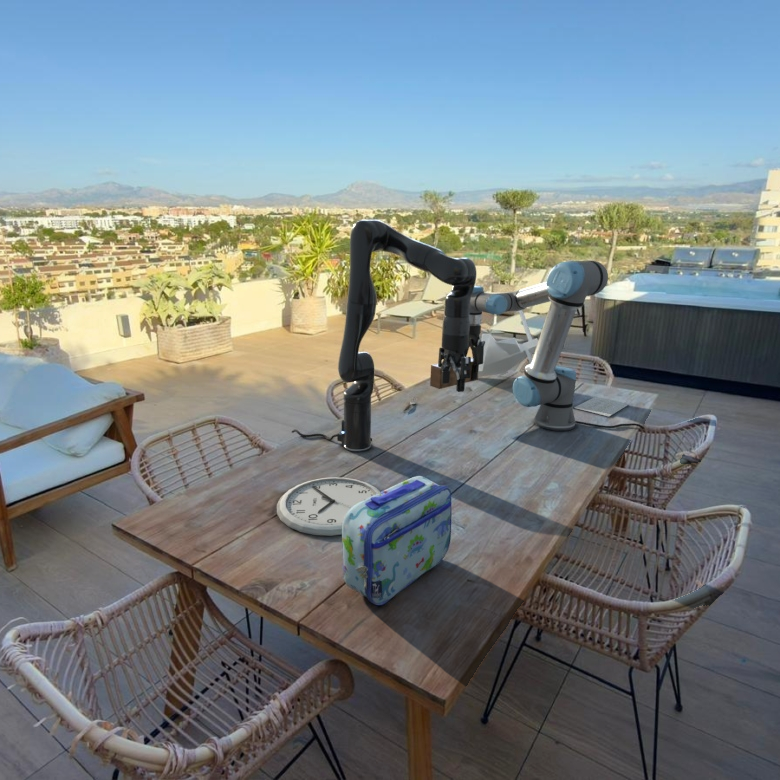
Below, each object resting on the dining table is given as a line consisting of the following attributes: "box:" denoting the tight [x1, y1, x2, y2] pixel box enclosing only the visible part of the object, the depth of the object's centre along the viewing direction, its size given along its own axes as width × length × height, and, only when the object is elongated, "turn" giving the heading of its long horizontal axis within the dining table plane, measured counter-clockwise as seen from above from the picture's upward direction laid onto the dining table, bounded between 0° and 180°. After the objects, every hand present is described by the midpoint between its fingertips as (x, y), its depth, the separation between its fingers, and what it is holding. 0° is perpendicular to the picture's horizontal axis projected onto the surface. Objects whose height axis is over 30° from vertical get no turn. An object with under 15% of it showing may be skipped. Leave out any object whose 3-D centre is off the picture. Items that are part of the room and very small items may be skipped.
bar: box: [429, 357, 479, 390], centre depth 217 cm, size 23×6×9 cm, turn 129°
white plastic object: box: [478, 310, 539, 378], centre depth 258 cm, size 37×45×31 cm
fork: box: [403, 396, 419, 412], centre depth 222 cm, size 3×16×2 cm, turn 160°
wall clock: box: [276, 476, 382, 537], centre depth 142 cm, size 30×2×30 cm
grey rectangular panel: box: [573, 396, 629, 418], centre depth 226 cm, size 21×1×15 cm
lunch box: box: [341, 475, 453, 606], centre depth 111 cm, size 26×11×21 cm, turn 134°
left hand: (452, 387), depth 151 cm, fingers open, 8 cm apart
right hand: (468, 377), depth 223 cm, fingers closed on bar, 5 cm apart
